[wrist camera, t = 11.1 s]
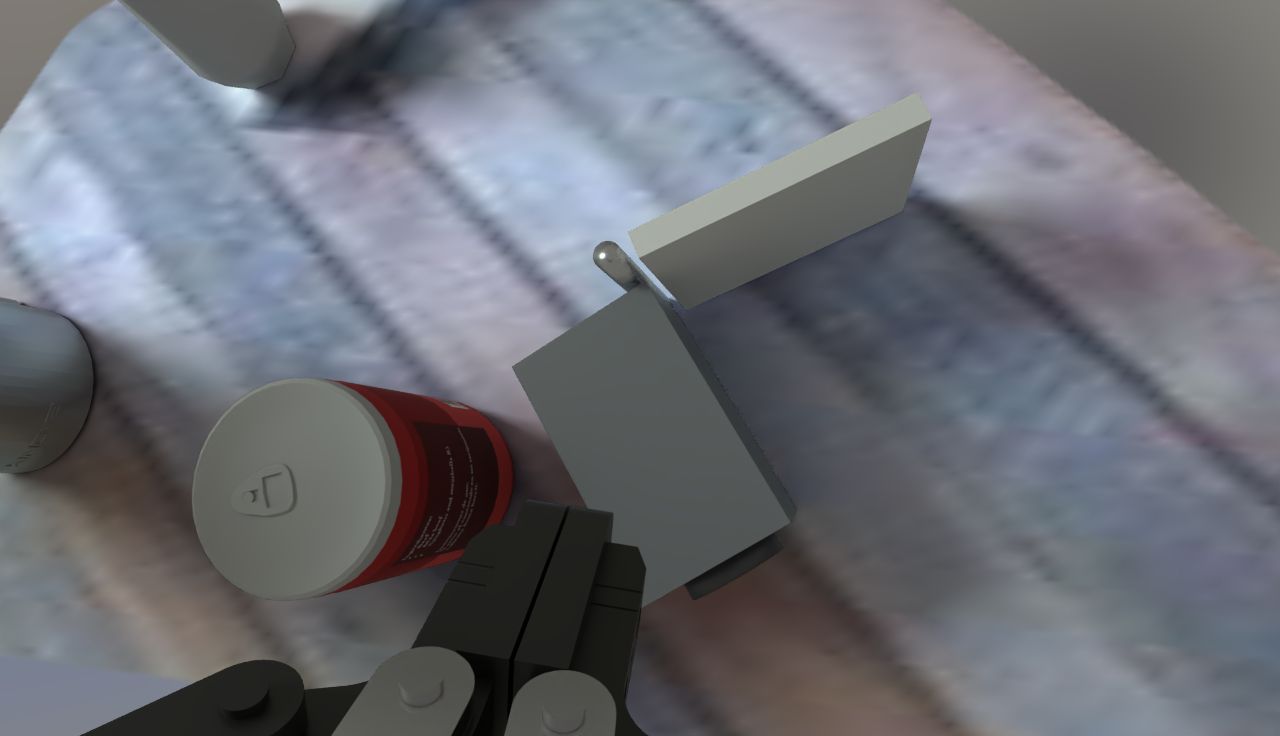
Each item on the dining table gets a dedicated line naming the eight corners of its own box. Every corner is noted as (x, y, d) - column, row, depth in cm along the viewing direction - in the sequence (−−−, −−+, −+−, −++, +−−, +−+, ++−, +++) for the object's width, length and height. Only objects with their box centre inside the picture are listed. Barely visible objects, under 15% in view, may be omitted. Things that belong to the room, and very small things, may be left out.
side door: (686, 310, 35) (638, 258, 26) (671, 275, 35) (619, 211, 26) (902, 211, 33) (932, 118, 24) (884, 175, 33) (906, 70, 24)
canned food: (344, 452, 38) (158, 449, 27) (474, 369, 37) (334, 331, 26) (408, 593, 36) (237, 647, 26) (547, 509, 35) (429, 530, 25)
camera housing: (557, 361, 36) (470, 328, 27) (665, 292, 35) (612, 235, 26) (687, 595, 33) (638, 643, 24) (807, 526, 32) (801, 551, 24)
